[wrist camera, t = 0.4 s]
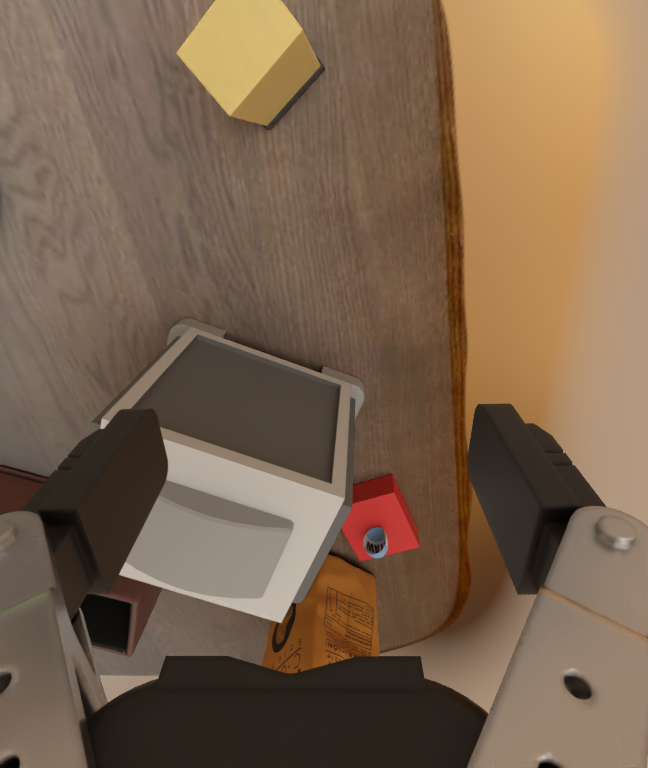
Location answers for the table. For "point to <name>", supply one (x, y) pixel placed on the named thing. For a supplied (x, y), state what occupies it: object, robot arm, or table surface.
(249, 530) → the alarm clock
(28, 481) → the desk organizer
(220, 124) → the table surface
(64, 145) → the table surface
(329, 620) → the coffee package
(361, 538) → the red slab
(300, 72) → the eraser
